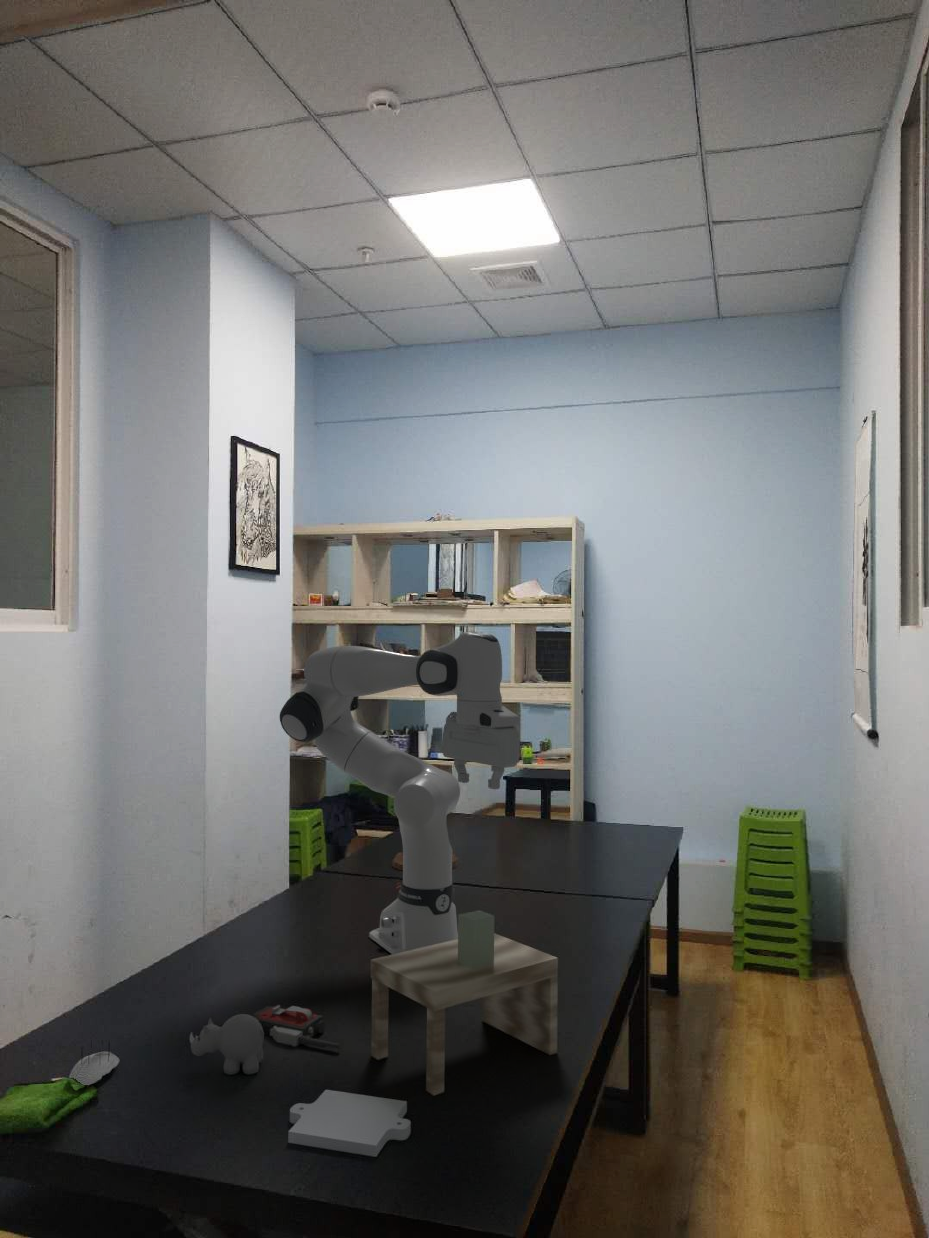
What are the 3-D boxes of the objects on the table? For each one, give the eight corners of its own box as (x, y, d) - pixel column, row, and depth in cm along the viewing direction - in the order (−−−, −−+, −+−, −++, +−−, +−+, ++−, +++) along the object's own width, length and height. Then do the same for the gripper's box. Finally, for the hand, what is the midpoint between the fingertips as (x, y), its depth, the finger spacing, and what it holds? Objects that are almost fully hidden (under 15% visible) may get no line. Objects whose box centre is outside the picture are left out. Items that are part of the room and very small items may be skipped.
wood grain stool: (369, 1055, 164) (370, 959, 164) (489, 1018, 180) (489, 931, 180) (433, 1096, 150) (434, 991, 150) (556, 1052, 166) (557, 957, 166)
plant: (454, 874, 288) (454, 836, 288) (388, 872, 290) (389, 834, 290) (460, 858, 308) (461, 823, 308) (399, 856, 310) (399, 821, 310)
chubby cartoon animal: (196, 1057, 162) (197, 1005, 163) (268, 1059, 162) (268, 1007, 162) (182, 1077, 155) (183, 1023, 155) (257, 1078, 155) (258, 1024, 155)
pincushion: (93, 1096, 149) (94, 1058, 149) (55, 1093, 150) (56, 1056, 150) (130, 1062, 161) (130, 1027, 161) (94, 1059, 162) (95, 1025, 162)
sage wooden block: (457, 962, 163) (458, 914, 163) (478, 957, 166) (479, 910, 166) (472, 969, 160) (473, 920, 160) (493, 963, 163) (494, 915, 163)
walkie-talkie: (237, 1037, 172) (336, 1057, 164) (237, 1011, 172) (336, 1031, 164) (265, 1019, 180) (361, 1037, 172) (266, 994, 180) (362, 1012, 172)
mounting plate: (422, 1116, 144) (423, 1103, 144) (393, 1162, 132) (393, 1148, 132) (310, 1099, 149) (310, 1087, 149) (271, 1142, 137) (271, 1128, 137)
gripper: (434, 711, 198) (433, 780, 198) (500, 719, 182) (499, 794, 182) (459, 710, 202) (458, 777, 202) (525, 717, 186) (524, 790, 185)
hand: (478, 785), depth 191 cm, fingers open, 8 cm apart
